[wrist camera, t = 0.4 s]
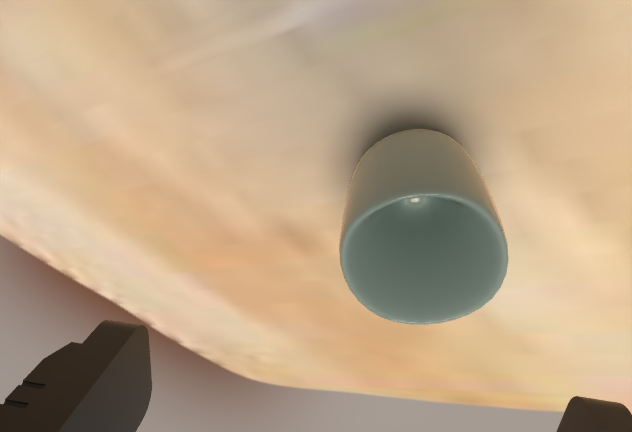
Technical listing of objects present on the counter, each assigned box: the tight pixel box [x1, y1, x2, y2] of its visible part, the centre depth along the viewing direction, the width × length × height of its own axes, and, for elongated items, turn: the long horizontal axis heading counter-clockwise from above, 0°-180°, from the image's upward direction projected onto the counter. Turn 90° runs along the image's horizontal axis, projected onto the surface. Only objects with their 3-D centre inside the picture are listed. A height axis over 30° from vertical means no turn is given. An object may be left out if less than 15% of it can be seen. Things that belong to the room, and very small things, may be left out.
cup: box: [339, 129, 508, 324], centre depth 26 cm, size 8×8×10 cm
